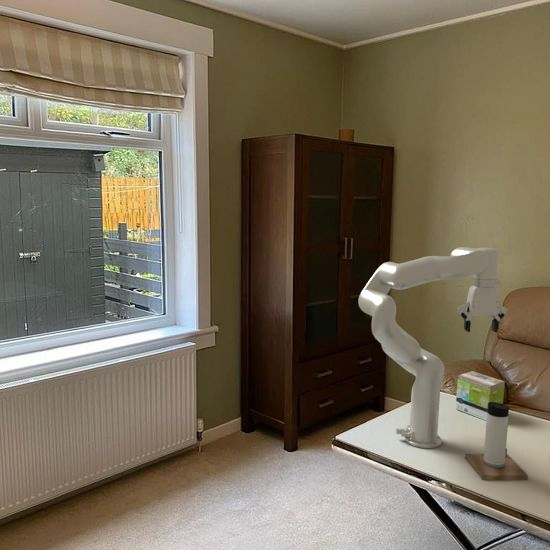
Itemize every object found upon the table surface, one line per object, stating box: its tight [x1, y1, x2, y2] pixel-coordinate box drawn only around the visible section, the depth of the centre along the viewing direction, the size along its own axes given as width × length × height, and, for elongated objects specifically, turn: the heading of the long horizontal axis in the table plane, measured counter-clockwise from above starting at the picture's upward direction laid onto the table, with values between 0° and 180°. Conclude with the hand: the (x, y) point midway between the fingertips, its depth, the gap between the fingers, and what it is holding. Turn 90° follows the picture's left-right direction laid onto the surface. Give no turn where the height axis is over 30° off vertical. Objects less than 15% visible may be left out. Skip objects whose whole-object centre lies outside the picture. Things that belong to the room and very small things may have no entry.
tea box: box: [455, 370, 506, 422], centre depth 221 cm, size 15×10×15 cm, turn 37°
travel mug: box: [483, 402, 510, 468], centre depth 175 cm, size 6×7×20 cm
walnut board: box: [464, 448, 529, 481], centre depth 176 cm, size 14×14×4 cm
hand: (480, 331), depth 196 cm, fingers open, 9 cm apart
